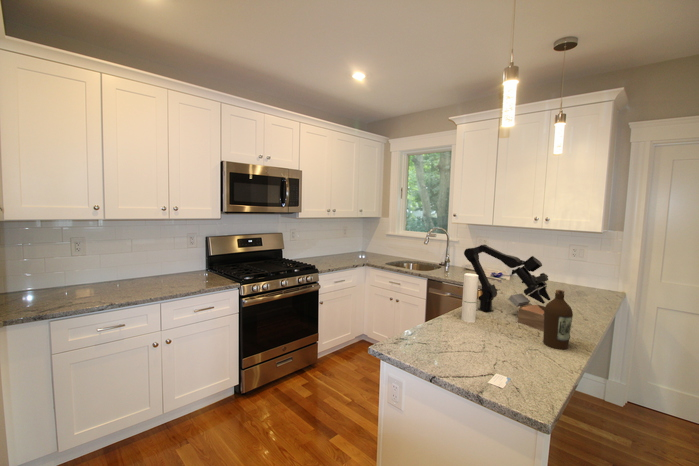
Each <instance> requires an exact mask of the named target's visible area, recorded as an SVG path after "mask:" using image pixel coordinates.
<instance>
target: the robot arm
mask: <svg viewBox="0 0 699 466" xmlns="http://www.w3.org/2000/svg"><path fill="white" fill-rule="evenodd" d="M482 253H485V254H486V255H488V256H491V257H493V258H495V259H496V260H498V261H501V262H502V263H503V265H505V266H506V267H507V268H509V269H511V275H512V276H513V275H515V274H516V275H517V276H518V278H519V279H520V280H521V283H522V284H524V285H525V286H526V288H524V290H523V294H524V296H527V297H530V298H532V299H534V300H536V301H537V302H539V303H541V304H543V305H544V304H545V303H546V301H545V300H547V301H548V302H550V301H552V300H551V299H552V298H551V297H550V295H549V293H548V292H547V288H548V286H547V281H549V275H548V274H546V273H545V272H542V273H540V274H539V275H538V276H536V275H535V274H532V273H531V272H533V273H534V272H535V271H537V270H538V269H540V268H541V267H542V266H543V263H542V262H541V261H540V260H539V259H537V258H536V257H535V256H534V255H532V256H530V257H529V258H528V259H526V260H523V259H521V258H520V257H517V256H514V255H510V254H506V253H503V252H501V251H499V250H498V249H495V248H492V247H490V246H488V245H487V244H480V245H478V246H475V247H468V248H466V249H465V250H463V254H464V257H465V259H466V260H467V261H468V262H469V263H470V264H471V265H472V268H473V270H474V272H475V274H477V275H478V282H480V285H481V293H482V294H481V295H479V296H478V300H479V302H480V303H479V307H478V308H477V310H479V311H481V312H484V313H491V312H494V309H492V307H493V302H492V301H493V300H494V299H495V298H497V295H498V289H497V288H496V285H495V284H493V283H491V282H490V281H489V279H488V277H487V274H486V272H485V271H484V268H483V266H482V264H481V262H480V257H479V256H480V254H482ZM544 299H545V300H544Z"/></svg>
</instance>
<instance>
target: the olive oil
mask: <svg viewBox="0 0 699 466" xmlns="http://www.w3.org/2000/svg"><path fill="white" fill-rule="evenodd" d="M544 307H545V309H544V331H543V336H542V338H543V339H542V343H543V345H545V346H547V347H549V348H551V349H555V350H561V351H562V350H567V349H568V348H569V343H570V339H571V329H572V322H573V316H574V315H573V314H574V313H573V309H572V307H571V306H570V305H569V304H568V303H567V301H566V300H565V290H562V289H555V294H554V298H553V299H552V300H549V301H548V303H546V304H545V306H544Z"/></svg>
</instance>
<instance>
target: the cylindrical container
mask: <svg viewBox="0 0 699 466" xmlns="http://www.w3.org/2000/svg"><path fill="white" fill-rule="evenodd" d="M478 285H479V279H478V275H477V274H476V273H470V272H468V273H467V272H466V273H464V274H463V286H462V303H461V319H460V320H461V321H462V322H464V323H468V324H473V323H475V322H476V315H477V303H478V302H477V301H478V290H479V289H478V287H479V286H478Z"/></svg>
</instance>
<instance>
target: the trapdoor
mask: <svg viewBox="0 0 699 466" xmlns="http://www.w3.org/2000/svg"><path fill="white" fill-rule="evenodd" d="M508 301H509V302H511V304H513V305H514V306H515V307H516V308H517V307H520V306H524V305H528V303H530V302H531V300H530V299H529V298H528V297H526V295H525V294H524V293H517V294H511V295H510V296H509V298H508ZM538 305H539V304H532V306H527V307H522V308H521V309H524V310H528V311H531V312H534V313H538V314H541V315H543V314H544V311H543V310H542V309H541V308H540V307H539V306H538Z"/></svg>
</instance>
